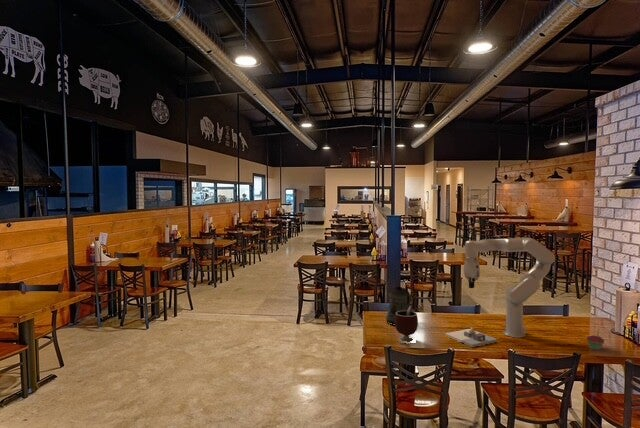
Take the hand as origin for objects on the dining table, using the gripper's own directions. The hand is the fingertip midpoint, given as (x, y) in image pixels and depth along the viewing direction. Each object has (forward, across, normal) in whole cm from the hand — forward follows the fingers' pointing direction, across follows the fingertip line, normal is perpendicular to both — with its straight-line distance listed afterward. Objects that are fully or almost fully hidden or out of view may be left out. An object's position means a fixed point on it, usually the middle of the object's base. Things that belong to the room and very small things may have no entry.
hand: (471, 287), depth 262 cm
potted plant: (+29, +39, +30) cm, 57 cm away
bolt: (+27, -14, +11) cm, 32 cm away
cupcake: (+29, -53, -41) cm, 73 cm away
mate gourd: (+29, +6, +47) cm, 56 cm away
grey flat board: (+29, -10, +11) cm, 33 cm away
